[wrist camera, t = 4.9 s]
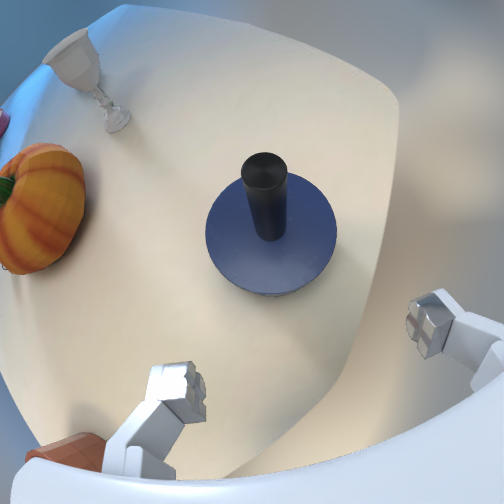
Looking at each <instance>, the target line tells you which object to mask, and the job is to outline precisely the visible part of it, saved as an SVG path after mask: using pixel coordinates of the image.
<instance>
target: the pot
mask: <svg viewBox="0 0 504 504" xmlns="http://www.w3.org/2000/svg"><path fill="white" fill-rule="evenodd" d="M106 443H107V442H106V441H104V440H103V439H102V438H100V437H98V436H96V435H94V434H91V433H79V434H76V435H74V436H71V437H68V438H66V439H63V440H60V441H57V442H54V443H52V444H49V445H46V446H43V447H40V448H37V449H34V450H31V451H29V452H27V454H26V458H25V463H27V462H28V461H29V460H30V459H31V458H34V457H38V458H42V459H46V460H49V461H52V462H56V463H59V464H63V465H67V466H71V467H75V468H79V469H84V470H88V471H94V472H99V473H101V472H102V465H103V459H104V453H105V448H106Z"/></svg>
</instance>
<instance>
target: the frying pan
mask: <svg viewBox="0 0 504 504" xmlns="http://www.w3.org/2000/svg"><path fill="white" fill-rule="evenodd" d="M9 120H10V117H9V115H8V114H7V113H6V112H5V111H4V110H3V109H0V138H1V137H2V135H3V133H4V132H5V130H6V128H7V126H8V123H9Z"/></svg>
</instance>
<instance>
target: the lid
mask: <svg viewBox="0 0 504 504" xmlns="http://www.w3.org/2000/svg"><path fill="white" fill-rule="evenodd" d="M205 237H206V244H207V249H208V252H209V255H210V257H211V259H212V261H213V263H214V265H215V266H216V267H217V269H218V270H219V271H220V273H221V274H222V275H223V276H224V277H226V278H227V279H228V280H229V281H230V282H232V283H233V284H234V285H236V286H238V287H240V288H242V289H244V290H246V291H249V292H252V293H257V294H263V295H279V294H285V293H289V292H292V291H295V290H297V289H300V288H302V287H304V286H305V285H307V284H308V283H310V282H311V281H313V280H314V279H315V278H316V277H317V276H318V275H319V274H320V273H321V272H322V271H323V270H324V268H325V267H326V265H327V264H328V262H329V260H330V258H331V256H332V254H333V251H334V248H335V244H336V238H337V227H336V220H335V216H334V213H333V210H332V208H331V205H330V204H329V202H328V200H327V199H326V197H325V196H324V195H323V194H322V192H321V191H320V190H319V189H318V188H317V187H316V186H314V185H313V184H312V183H310V182H309V181H307V180H306V179H304V178H302V177H300V176H297V175H295V174H292V173H288V172H287V166H286V164H285V162H284V161H283V160H282V159H281V158H280V157H279V156H277V155H275V154H273V153H268V152H262V153H257V154H254V155H252V156H251V157H249V158H248V159H247V160H246V161H245V162H244V164H243V166H242V169H241V178H239V179H238V180H236V181H234V182H233V183H232V184H230V185H229V186H228V187H226V188H225V189H224V190H223V191H222V192H221V194H220V195H219V196H218V197H217V199H216V200H215V202H214V203H213V205H212V207H211V209H210V211H209V215H208V218H207V222H206V231H205Z"/></svg>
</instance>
